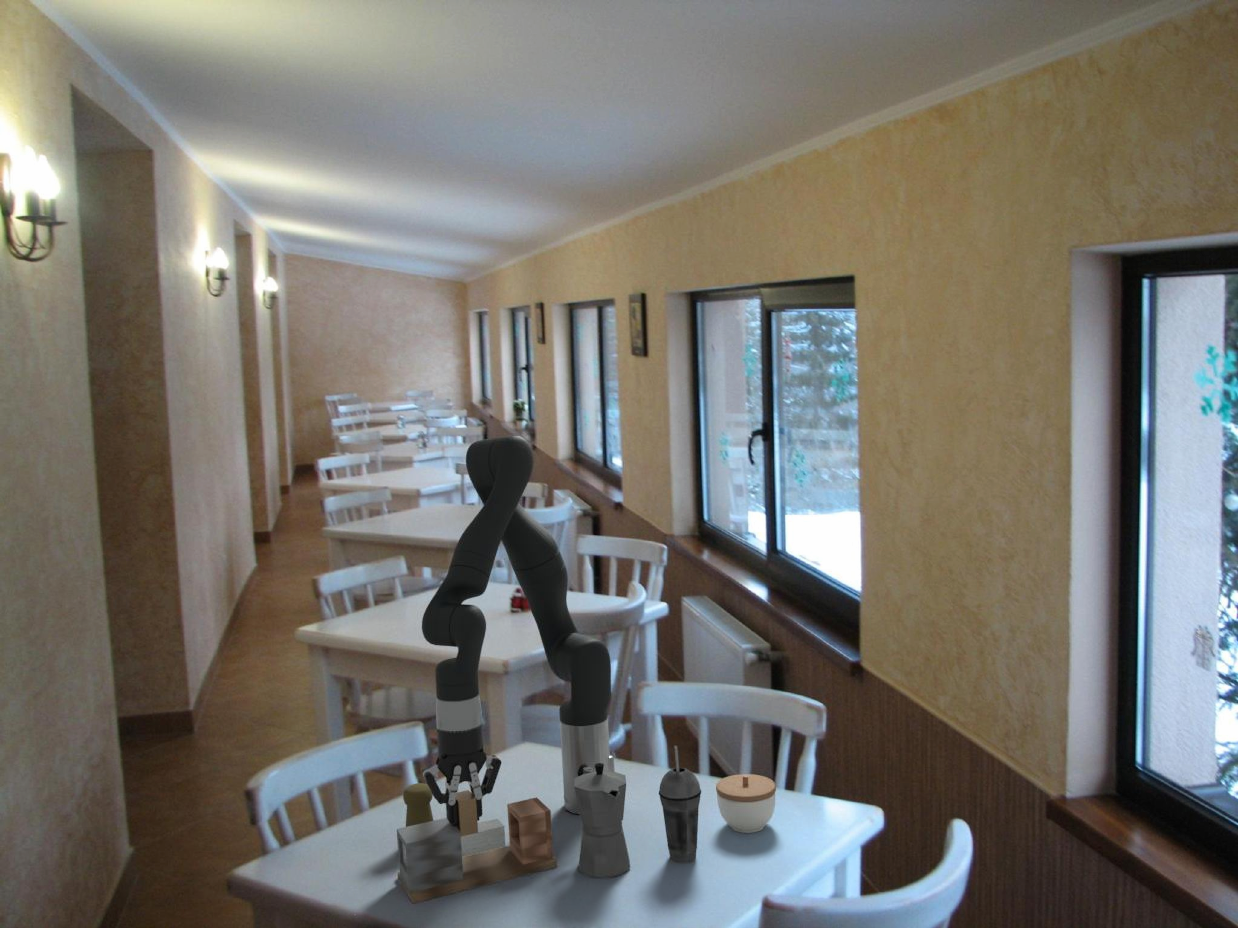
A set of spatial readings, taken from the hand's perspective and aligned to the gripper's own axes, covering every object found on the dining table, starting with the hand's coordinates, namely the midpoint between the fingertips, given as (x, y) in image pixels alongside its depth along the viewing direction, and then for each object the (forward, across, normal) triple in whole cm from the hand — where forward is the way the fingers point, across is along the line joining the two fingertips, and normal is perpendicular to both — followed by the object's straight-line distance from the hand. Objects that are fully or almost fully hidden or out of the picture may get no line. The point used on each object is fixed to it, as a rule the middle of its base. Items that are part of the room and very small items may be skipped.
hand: (464, 821), depth 186 cm
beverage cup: (+9, -34, +13) cm, 38 cm away
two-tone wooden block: (+5, +2, 0) cm, 6 cm away
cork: (+10, +4, -16) cm, 19 cm away
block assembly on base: (+9, -1, 0) cm, 9 cm away
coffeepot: (+9, -21, +8) cm, 25 cm away
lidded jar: (+9, -50, +8) cm, 52 cm away
